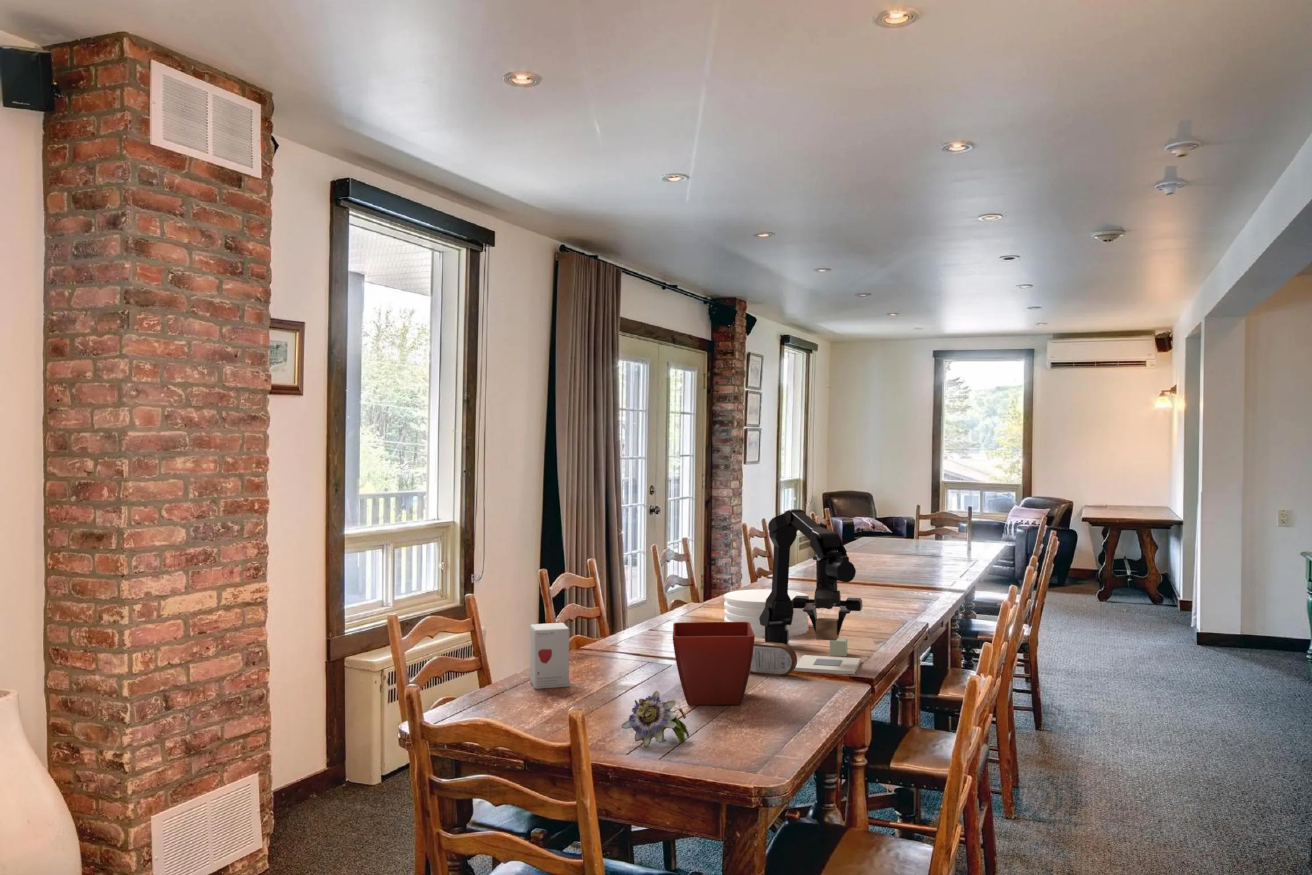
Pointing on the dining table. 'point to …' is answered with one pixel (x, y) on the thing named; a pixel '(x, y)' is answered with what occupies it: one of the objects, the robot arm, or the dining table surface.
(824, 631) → the walnut block
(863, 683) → the dining table surface
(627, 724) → the passion flower
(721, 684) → the plant pot
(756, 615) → the plate stack
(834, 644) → the sage block
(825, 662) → the off-white flat square slab
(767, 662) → the tin
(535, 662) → the supplement box
